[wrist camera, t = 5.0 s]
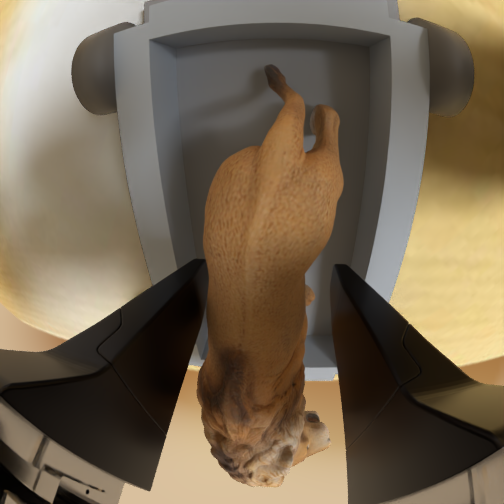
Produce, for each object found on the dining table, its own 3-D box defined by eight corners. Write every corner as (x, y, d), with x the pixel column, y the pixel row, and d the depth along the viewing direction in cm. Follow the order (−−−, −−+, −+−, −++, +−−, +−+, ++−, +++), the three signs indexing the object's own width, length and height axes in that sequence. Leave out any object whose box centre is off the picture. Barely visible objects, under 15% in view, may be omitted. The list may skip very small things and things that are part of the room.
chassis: (420, 11, 6) (463, -8, 3) (365, 352, 18) (373, 397, 15) (123, 15, 8) (73, 1, 5) (178, 343, 20) (163, 385, 16)
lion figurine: (332, 351, 15) (321, 499, 7) (244, 346, 16) (196, 481, 8) (335, 64, 8) (385, -82, 1) (205, 78, 10) (6, 50, 2)
